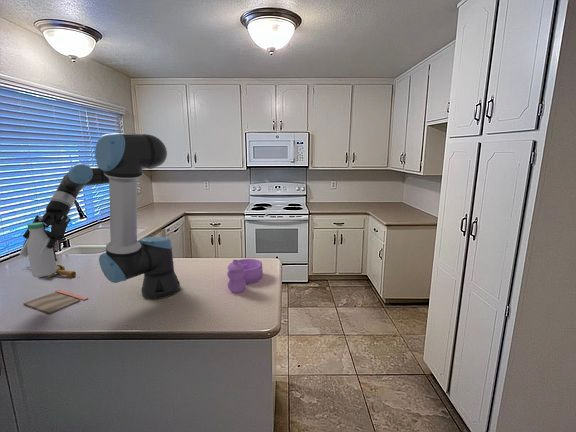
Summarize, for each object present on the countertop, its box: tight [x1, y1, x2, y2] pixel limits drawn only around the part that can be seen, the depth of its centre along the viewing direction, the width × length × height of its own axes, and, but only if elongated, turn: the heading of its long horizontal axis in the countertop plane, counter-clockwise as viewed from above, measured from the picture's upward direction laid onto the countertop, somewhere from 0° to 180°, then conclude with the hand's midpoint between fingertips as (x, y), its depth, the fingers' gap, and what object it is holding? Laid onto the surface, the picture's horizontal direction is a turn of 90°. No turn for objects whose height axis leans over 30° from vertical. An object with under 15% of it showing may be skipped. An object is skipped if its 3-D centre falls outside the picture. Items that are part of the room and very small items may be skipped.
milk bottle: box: [27, 222, 57, 278], centre depth 120 cm, size 8×8×20 cm
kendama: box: [46, 264, 77, 278], centre depth 153 cm, size 8×6×18 cm
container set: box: [227, 258, 264, 294], centre depth 140 cm, size 25×15×13 cm, turn 172°
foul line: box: [54, 289, 89, 302], centre depth 131 cm, size 20×2×1 cm, turn 64°
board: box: [23, 291, 81, 315], centre depth 125 cm, size 18×11×1 cm, turn 64°
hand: (32, 255), depth 117 cm, fingers closed on milk bottle, 7 cm apart
